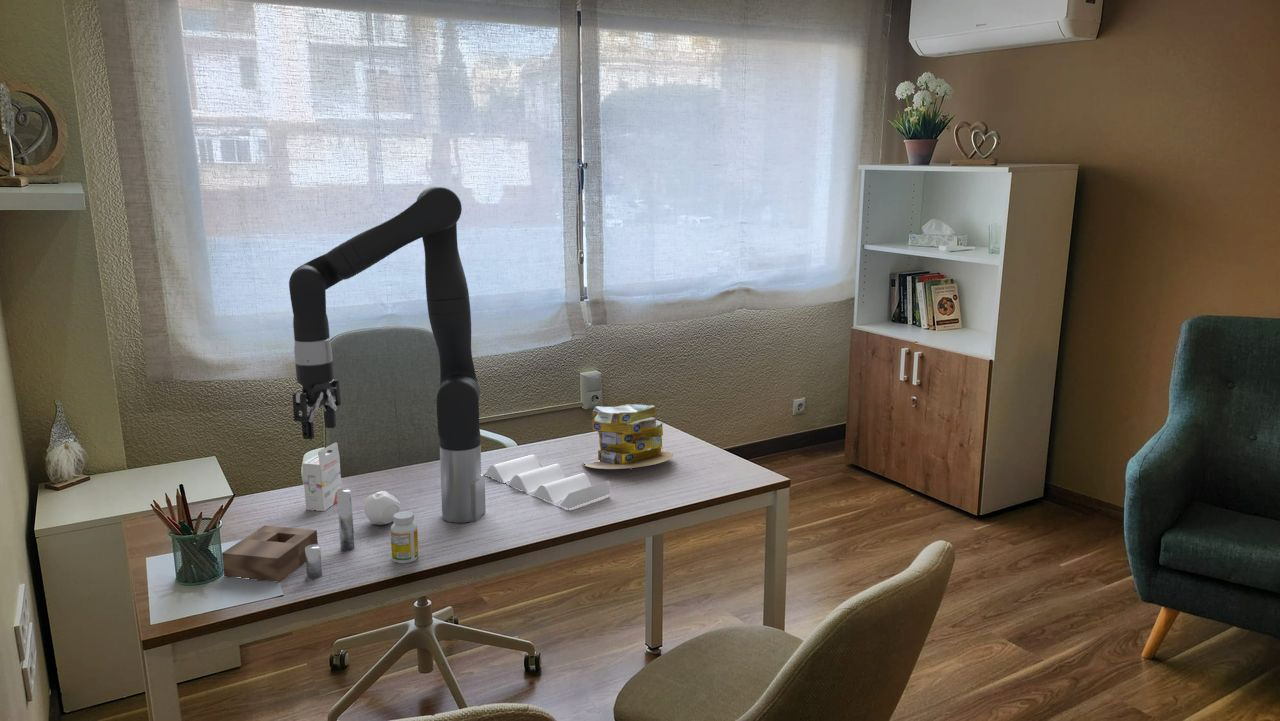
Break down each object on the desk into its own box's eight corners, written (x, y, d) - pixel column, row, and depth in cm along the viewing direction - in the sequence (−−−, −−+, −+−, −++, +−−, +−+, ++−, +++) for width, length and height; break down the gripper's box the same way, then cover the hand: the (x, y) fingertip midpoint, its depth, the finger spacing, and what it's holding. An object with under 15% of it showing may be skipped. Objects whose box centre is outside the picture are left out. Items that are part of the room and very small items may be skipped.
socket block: (318, 552, 183) (316, 530, 182) (279, 582, 169) (277, 558, 168) (266, 547, 185) (264, 525, 184) (224, 576, 171) (221, 553, 170)
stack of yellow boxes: (567, 459, 244) (566, 402, 240) (641, 445, 257) (642, 391, 253) (612, 486, 223) (612, 423, 220) (690, 469, 237) (692, 410, 233)
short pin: (324, 573, 173) (322, 545, 172) (317, 579, 171) (315, 550, 169) (311, 571, 174) (309, 543, 172) (304, 578, 171) (302, 549, 170)
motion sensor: (406, 518, 201) (404, 486, 199) (391, 531, 194) (390, 498, 192) (373, 516, 202) (372, 484, 201) (358, 528, 195) (356, 496, 193)
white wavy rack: (523, 466, 240) (522, 448, 239) (609, 500, 216) (609, 480, 214) (483, 477, 231) (482, 458, 230) (569, 514, 206) (568, 493, 205)
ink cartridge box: (324, 497, 214) (320, 439, 210) (343, 499, 213) (339, 441, 210) (304, 510, 205) (300, 450, 202) (323, 512, 204) (319, 452, 201)
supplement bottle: (401, 566, 177) (399, 522, 175) (386, 558, 180) (384, 515, 178) (424, 557, 181) (422, 514, 179) (408, 550, 184) (406, 507, 182)
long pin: (357, 546, 186) (353, 488, 183) (350, 551, 183) (346, 493, 180) (344, 545, 186) (341, 487, 184) (338, 550, 184) (334, 492, 181)
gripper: (310, 367, 178) (317, 444, 181) (347, 354, 191) (352, 425, 195) (278, 366, 179) (284, 441, 183) (316, 352, 193) (322, 423, 196)
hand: (320, 433), depth 189 cm, fingers open, 8 cm apart
